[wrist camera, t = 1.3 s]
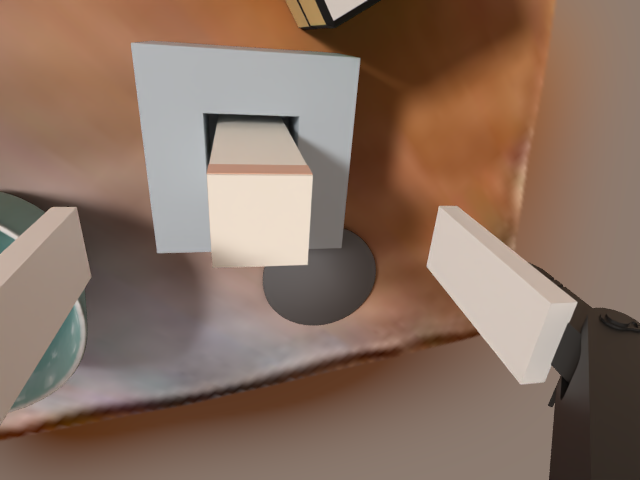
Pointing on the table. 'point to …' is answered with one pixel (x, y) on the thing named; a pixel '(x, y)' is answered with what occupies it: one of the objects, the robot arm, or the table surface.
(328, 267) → the coaster
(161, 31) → the table surface
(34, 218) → the bowl
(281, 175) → the plug
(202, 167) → the socket block
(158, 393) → the table surface
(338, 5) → the puzzle cube
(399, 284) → the table surface
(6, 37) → the table surface
